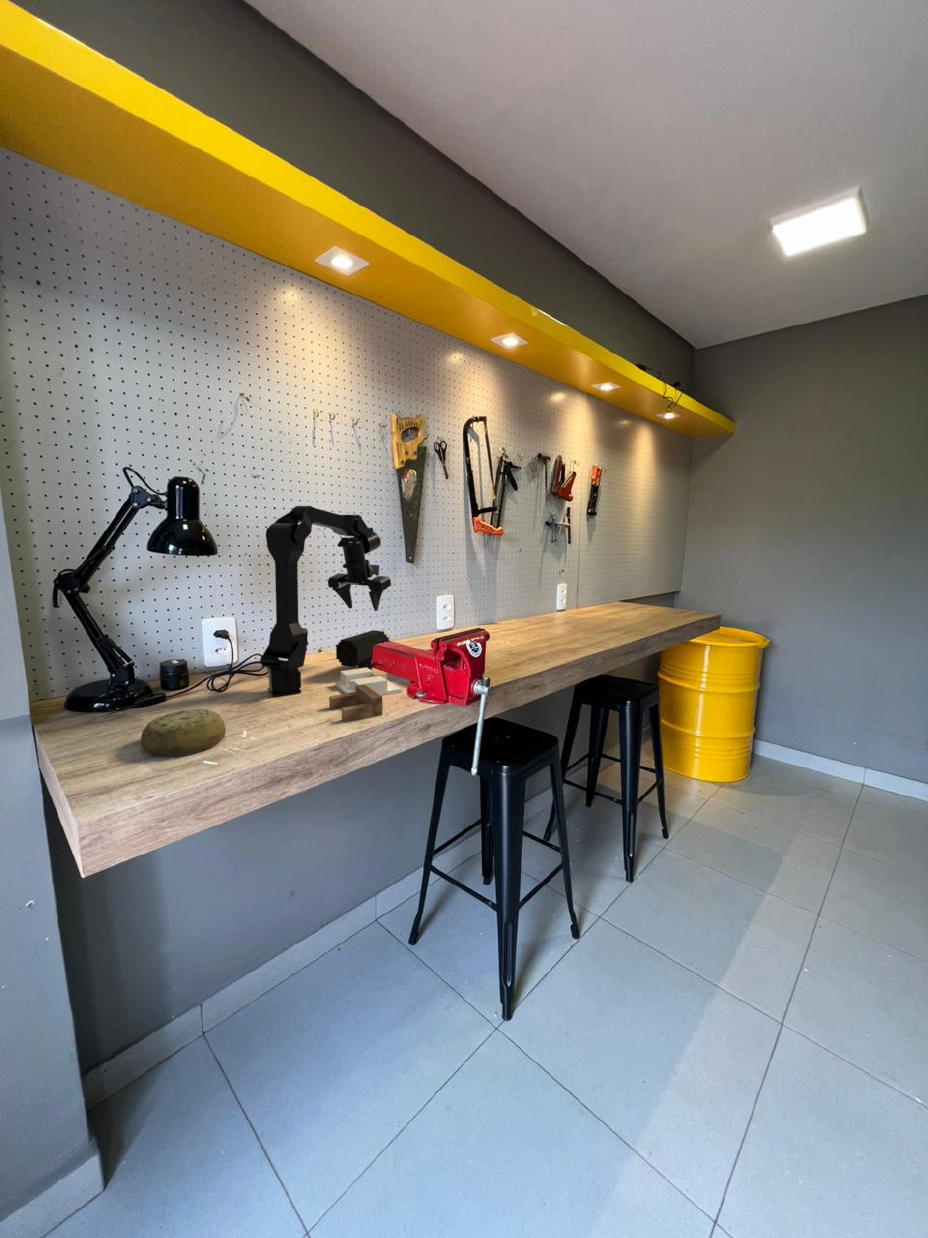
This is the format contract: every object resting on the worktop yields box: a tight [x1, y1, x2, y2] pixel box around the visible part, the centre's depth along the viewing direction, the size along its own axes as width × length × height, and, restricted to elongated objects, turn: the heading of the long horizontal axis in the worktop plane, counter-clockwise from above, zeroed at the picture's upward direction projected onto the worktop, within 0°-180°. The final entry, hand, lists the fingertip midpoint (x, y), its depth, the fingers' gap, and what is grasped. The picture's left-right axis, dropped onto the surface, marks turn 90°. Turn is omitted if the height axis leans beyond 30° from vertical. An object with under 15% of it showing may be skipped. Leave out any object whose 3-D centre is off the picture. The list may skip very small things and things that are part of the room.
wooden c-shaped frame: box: [334, 668, 402, 697], centre depth 121 cm, size 12×13×4 cm
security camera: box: [335, 629, 390, 670], centre depth 137 cm, size 7×18×10 cm, turn 155°
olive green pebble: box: [140, 708, 226, 757], centre depth 90 cm, size 14×13×5 cm
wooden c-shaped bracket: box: [328, 684, 383, 723], centre depth 106 cm, size 8×10×4 cm
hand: (363, 609), depth 147 cm, fingers open, 9 cm apart
